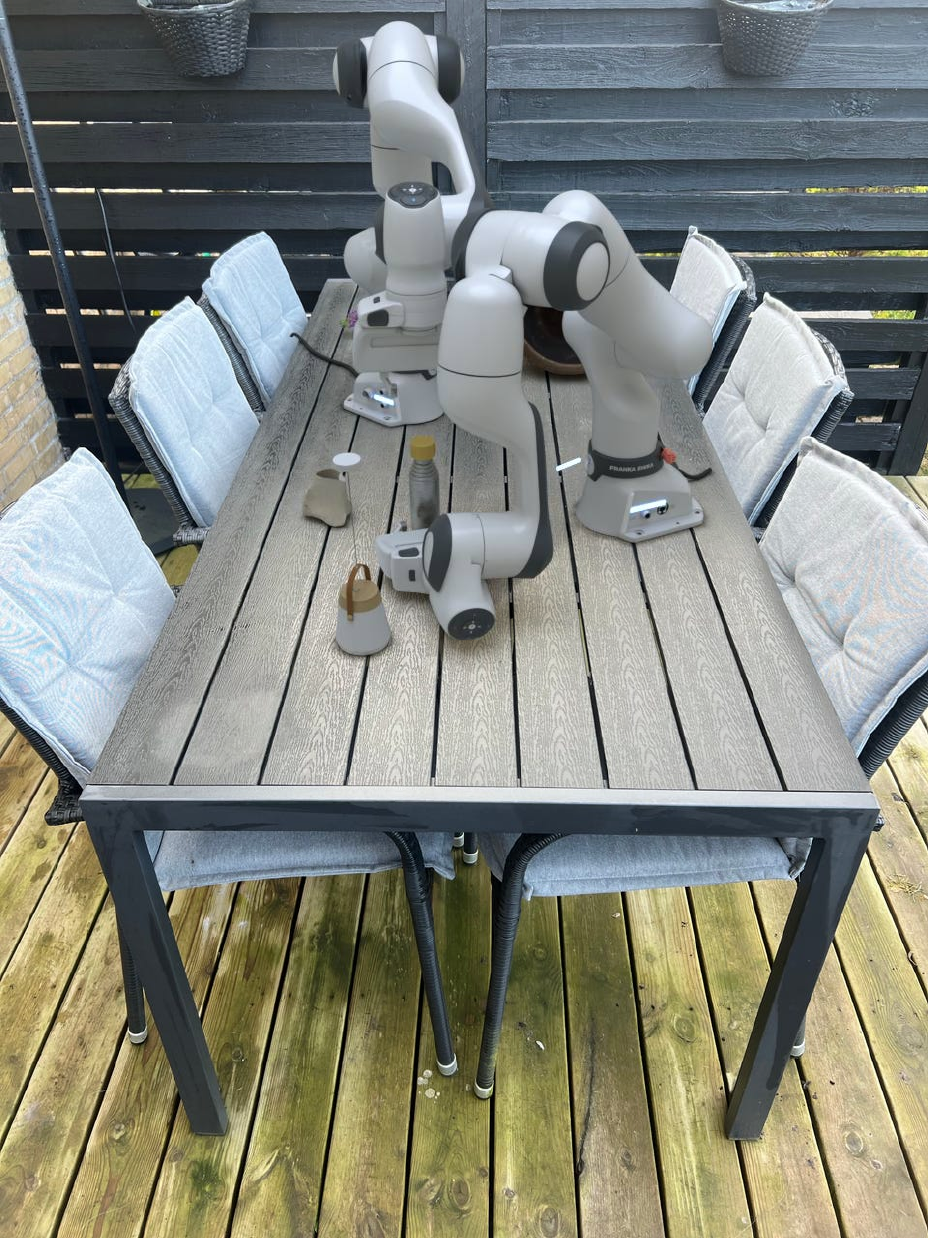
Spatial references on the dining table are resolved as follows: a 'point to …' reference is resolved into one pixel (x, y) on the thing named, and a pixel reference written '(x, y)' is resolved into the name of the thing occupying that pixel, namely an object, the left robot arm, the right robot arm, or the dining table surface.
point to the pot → (548, 342)
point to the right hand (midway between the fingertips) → (428, 521)
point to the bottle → (424, 494)
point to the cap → (422, 448)
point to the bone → (327, 498)
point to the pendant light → (359, 596)
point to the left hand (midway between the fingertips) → (420, 394)
